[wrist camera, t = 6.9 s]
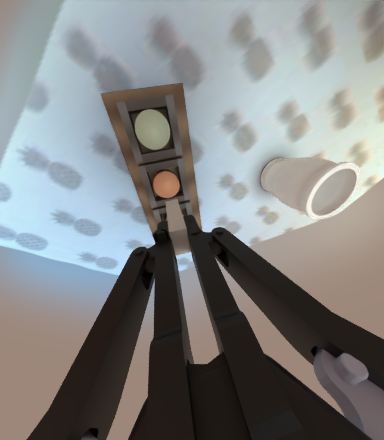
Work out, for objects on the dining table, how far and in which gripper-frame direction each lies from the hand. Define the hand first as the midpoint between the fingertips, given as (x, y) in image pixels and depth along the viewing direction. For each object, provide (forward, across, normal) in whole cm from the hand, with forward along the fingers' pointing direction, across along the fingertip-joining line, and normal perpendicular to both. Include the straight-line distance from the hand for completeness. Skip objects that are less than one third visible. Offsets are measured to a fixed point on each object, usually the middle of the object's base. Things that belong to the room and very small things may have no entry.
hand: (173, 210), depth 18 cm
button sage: (+12, 0, +9) cm, 15 cm away
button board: (+17, 0, 0) cm, 17 cm away
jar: (+17, +28, -5) cm, 33 cm away
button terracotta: (+14, 0, 0) cm, 14 cm away
